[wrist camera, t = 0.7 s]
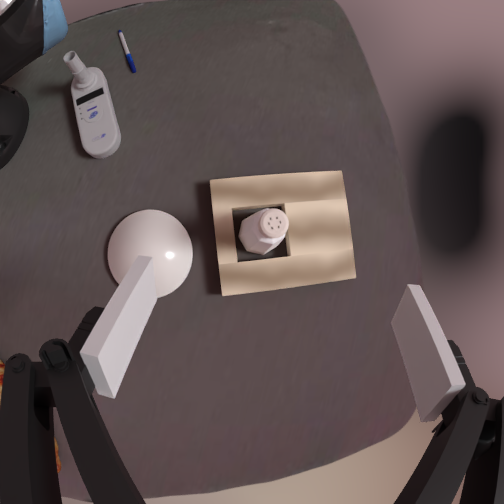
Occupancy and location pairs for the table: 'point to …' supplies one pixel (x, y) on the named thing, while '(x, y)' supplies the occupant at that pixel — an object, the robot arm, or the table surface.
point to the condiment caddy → (297, 236)
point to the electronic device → (93, 109)
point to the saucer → (152, 248)
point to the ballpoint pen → (127, 52)
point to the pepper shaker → (263, 230)
